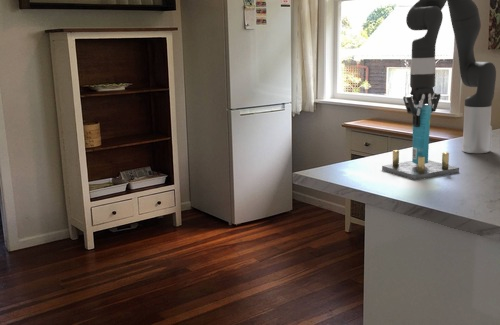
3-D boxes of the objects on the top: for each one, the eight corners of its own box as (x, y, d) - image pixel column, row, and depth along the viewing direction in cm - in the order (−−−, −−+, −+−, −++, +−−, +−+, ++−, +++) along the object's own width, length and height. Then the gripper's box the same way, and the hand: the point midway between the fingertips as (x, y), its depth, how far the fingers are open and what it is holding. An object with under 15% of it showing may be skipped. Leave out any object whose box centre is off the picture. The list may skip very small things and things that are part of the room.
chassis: (423, 163, 187) (424, 144, 186) (458, 172, 173) (459, 152, 172) (382, 170, 180) (382, 151, 179) (415, 180, 166) (416, 159, 164)
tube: (434, 163, 175) (436, 104, 171) (425, 165, 172) (427, 105, 168) (414, 159, 180) (416, 102, 176) (405, 162, 177) (407, 104, 173)
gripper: (431, 70, 176) (429, 122, 180) (397, 73, 170) (396, 127, 174) (448, 71, 169) (446, 125, 173) (413, 74, 163) (412, 130, 167)
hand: (421, 125), depth 173 cm, fingers closed on tube, 3 cm apart
